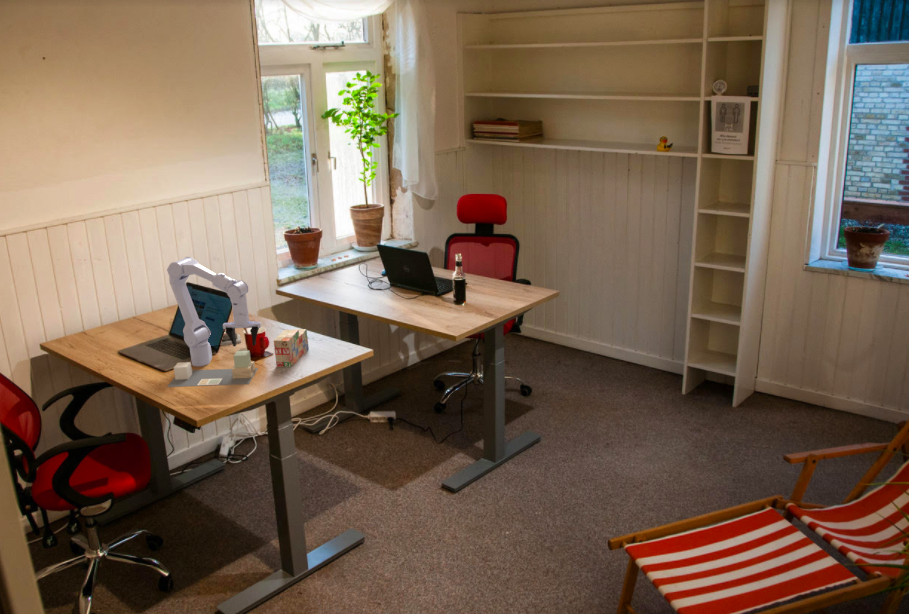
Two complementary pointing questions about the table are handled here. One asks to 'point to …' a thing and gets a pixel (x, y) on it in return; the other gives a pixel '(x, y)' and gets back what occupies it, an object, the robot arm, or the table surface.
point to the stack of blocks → (290, 346)
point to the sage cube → (242, 359)
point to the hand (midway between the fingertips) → (244, 345)
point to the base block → (244, 371)
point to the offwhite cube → (183, 370)
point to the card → (209, 382)
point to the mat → (211, 374)
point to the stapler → (227, 340)
